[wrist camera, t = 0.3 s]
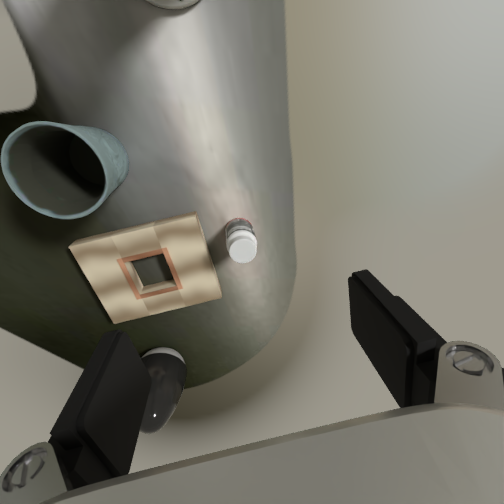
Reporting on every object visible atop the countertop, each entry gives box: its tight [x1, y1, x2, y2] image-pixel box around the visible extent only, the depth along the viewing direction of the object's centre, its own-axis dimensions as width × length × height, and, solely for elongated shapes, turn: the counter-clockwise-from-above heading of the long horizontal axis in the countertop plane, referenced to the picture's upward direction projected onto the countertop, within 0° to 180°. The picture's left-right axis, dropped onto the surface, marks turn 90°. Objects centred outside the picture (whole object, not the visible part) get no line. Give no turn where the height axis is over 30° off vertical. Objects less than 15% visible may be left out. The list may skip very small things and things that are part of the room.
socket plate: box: [69, 211, 222, 324], centre depth 47 cm, size 16×20×3 cm
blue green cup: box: [1, 121, 129, 219], centre depth 34 cm, size 10×10×12 cm
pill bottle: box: [225, 218, 257, 263], centre depth 43 cm, size 5×5×8 cm
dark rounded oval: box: [140, 347, 187, 434], centre depth 51 cm, size 10×10×15 cm
